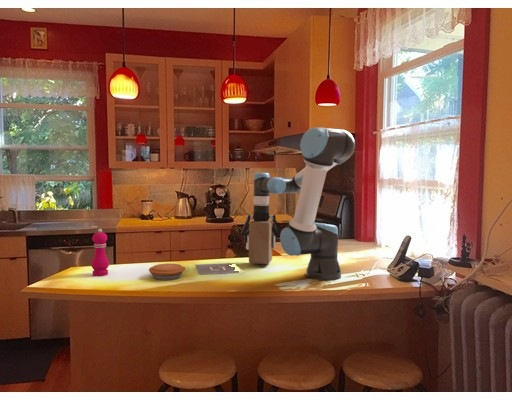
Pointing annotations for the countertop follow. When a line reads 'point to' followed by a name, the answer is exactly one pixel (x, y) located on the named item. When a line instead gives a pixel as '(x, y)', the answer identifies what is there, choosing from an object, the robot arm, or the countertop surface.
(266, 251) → the block
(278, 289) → the countertop surface
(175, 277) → the pie
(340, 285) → the countertop surface
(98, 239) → the pepper mill
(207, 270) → the board
